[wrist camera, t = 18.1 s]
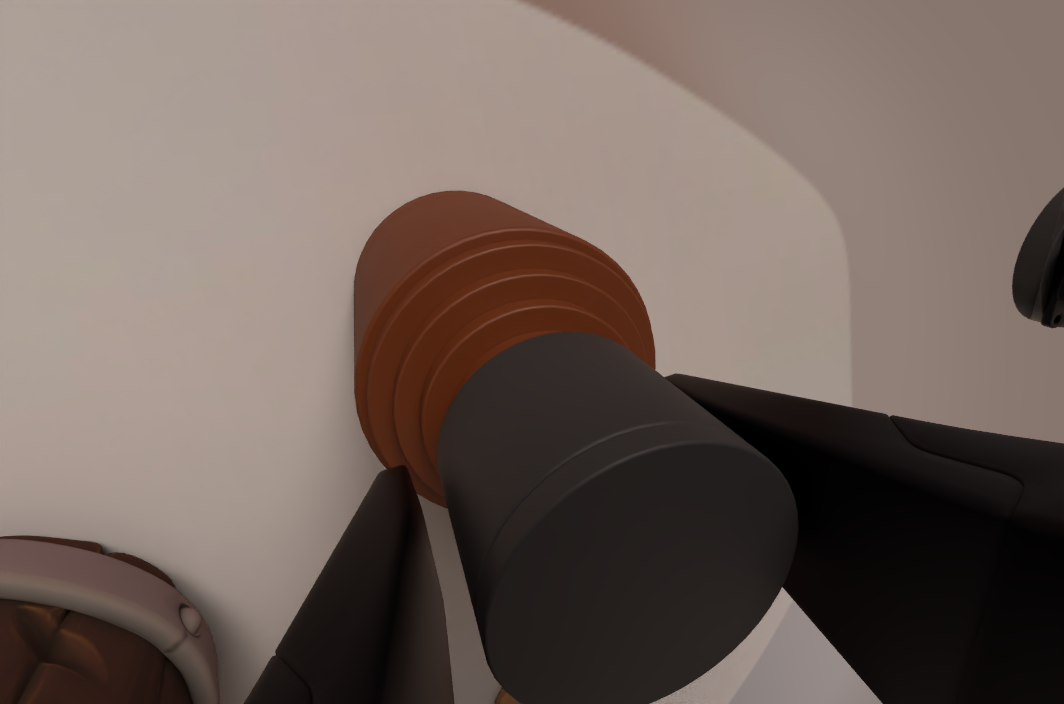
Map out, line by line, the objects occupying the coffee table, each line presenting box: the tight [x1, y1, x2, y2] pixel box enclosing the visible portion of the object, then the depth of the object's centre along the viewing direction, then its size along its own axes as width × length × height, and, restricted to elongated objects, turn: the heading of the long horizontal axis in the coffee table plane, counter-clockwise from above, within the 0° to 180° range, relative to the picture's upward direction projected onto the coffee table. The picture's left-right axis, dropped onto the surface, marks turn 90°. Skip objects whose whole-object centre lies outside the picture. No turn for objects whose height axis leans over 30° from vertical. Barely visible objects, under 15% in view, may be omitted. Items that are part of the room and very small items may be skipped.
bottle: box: [354, 191, 655, 508], centre depth 12 cm, size 6×6×12 cm
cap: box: [437, 332, 799, 704], centre depth 7 cm, size 4×4×3 cm
